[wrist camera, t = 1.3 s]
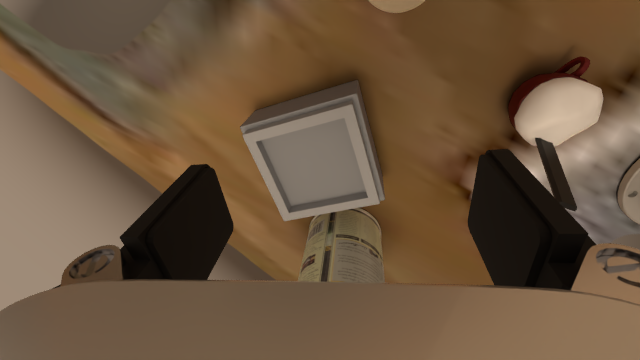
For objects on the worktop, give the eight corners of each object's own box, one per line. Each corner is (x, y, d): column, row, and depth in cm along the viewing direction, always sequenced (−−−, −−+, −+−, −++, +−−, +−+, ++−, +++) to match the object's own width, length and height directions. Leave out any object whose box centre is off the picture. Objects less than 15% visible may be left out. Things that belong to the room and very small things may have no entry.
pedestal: (357, 79, 31) (356, 97, 25) (382, 176, 36) (385, 206, 31) (255, 110, 34) (235, 131, 29) (292, 194, 40) (281, 225, 34)
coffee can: (369, 265, 45) (371, 363, 33) (303, 249, 45) (281, 341, 33) (392, 214, 39) (405, 310, 27) (317, 195, 39) (296, 283, 27)
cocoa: (557, 43, 27) (678, 58, 17) (594, 89, 29) (727, 131, 18) (468, 117, 31) (520, 167, 21) (504, 155, 33) (570, 219, 22)
